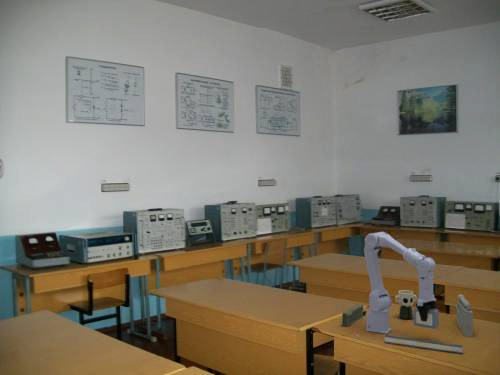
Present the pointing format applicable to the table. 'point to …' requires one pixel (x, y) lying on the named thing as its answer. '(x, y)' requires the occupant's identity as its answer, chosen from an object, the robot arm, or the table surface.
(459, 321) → the geiger counter
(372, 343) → the table surface
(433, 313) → the box
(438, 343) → the rail
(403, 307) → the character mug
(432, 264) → the robot arm
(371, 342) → the table surface
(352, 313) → the handheld radio
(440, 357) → the table surface
